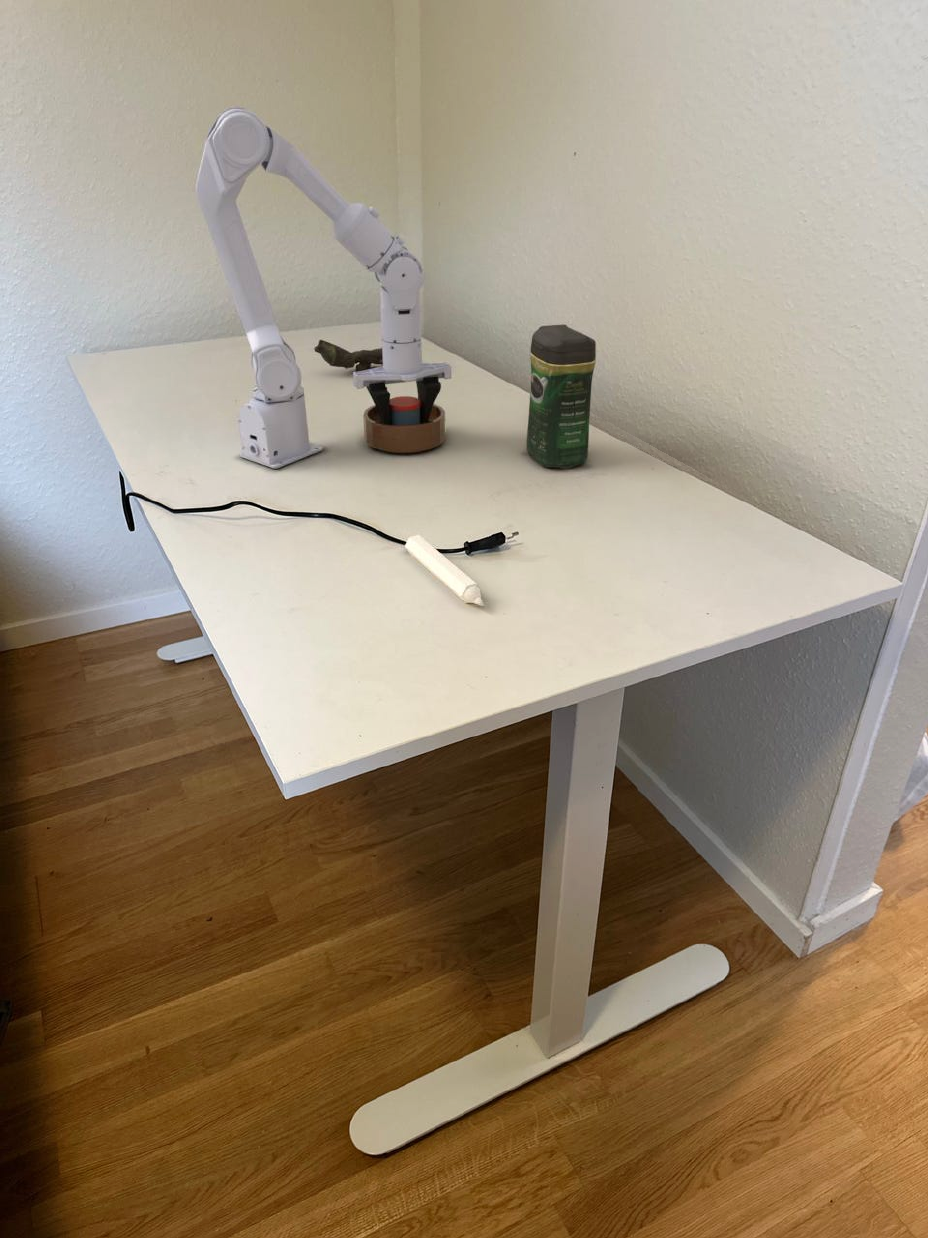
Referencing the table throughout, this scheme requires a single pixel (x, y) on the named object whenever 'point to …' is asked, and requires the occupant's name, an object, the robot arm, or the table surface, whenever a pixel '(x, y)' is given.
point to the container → (404, 411)
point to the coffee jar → (560, 396)
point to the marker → (444, 570)
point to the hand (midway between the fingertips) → (405, 429)
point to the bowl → (404, 432)
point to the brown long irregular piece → (348, 356)
